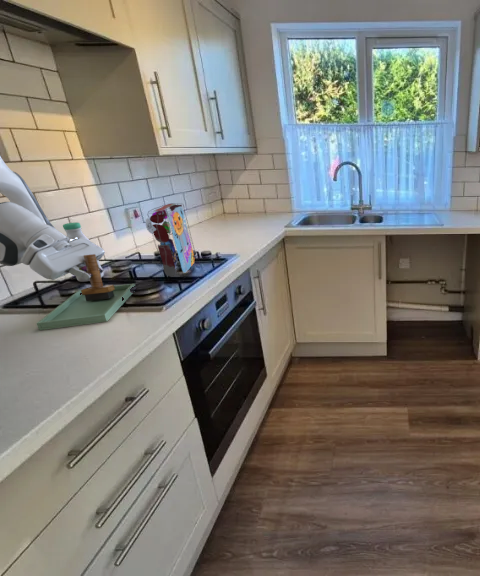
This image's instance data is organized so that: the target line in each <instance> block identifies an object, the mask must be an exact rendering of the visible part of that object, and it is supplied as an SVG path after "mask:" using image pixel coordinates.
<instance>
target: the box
mask: <svg viewBox="0 0 480 576" xmlns="http://www.w3.org/2000/svg"><path fill="white" fill-rule="evenodd" d="M184 208H185V206H184V203H182V202H181V203H180V202H177V203H175V202H173V203H172V202H171V203H166V204H163V205H160V206H158V207H154V208H152V209H150V210H148V212H147V214H146V215H147V218H146V219H145V228H146V230H147V231H148V233H149V234H151V235H152V239H153V243H154V245H155V248H156V251H157V253H158V258H159V262H160V263H161V264H160V265H161V269H162V271H163V275H164V276H165V277H166V278H167V281H170V278H172V277H175V276H176V275H177V273H178V274H179V271H181V274H182V275H184V274H185V273H187V274H186V276H185V277H184V278H182V279H178V280H176V282H179V281H182V280H184V279H186V277H187V276H189V275H190V274H191V272H192V271H194V270H195V269H196V268H197V266H194V264H195V263H196V264H197V260H198V258H197V257H195V255H197V253H196V251H195V246H193V245H194V241H193V240H191V239H192V235H191V233H189V232H191V231H190V229H188V228H190V226H189V221H188V219H187V218H188V217H187V215H186V214H185V213H186V210H185V209H184ZM167 210H168V211H167ZM152 211H153V212H152ZM149 215H151V216H149ZM166 220H167V221H166ZM170 234H171V235H172V238H173V239H171V236H170ZM156 241H157V242H158V243H159V244H156ZM178 261H179V265H178ZM177 265H178V266H177ZM193 266H194V267H193ZM179 267H180V269H178V268H179ZM191 267H193V268H192V269H191ZM190 269H191V270H190Z"/></svg>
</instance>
